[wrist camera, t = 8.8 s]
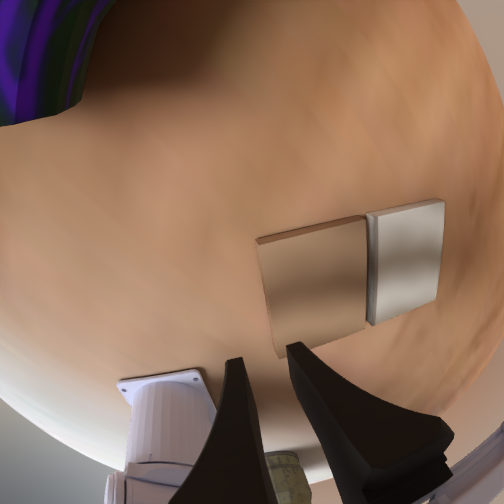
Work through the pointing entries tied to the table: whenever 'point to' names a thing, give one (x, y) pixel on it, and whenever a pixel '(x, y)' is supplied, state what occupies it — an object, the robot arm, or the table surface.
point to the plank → (315, 282)
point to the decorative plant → (45, 55)
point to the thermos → (288, 478)
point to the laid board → (403, 258)
